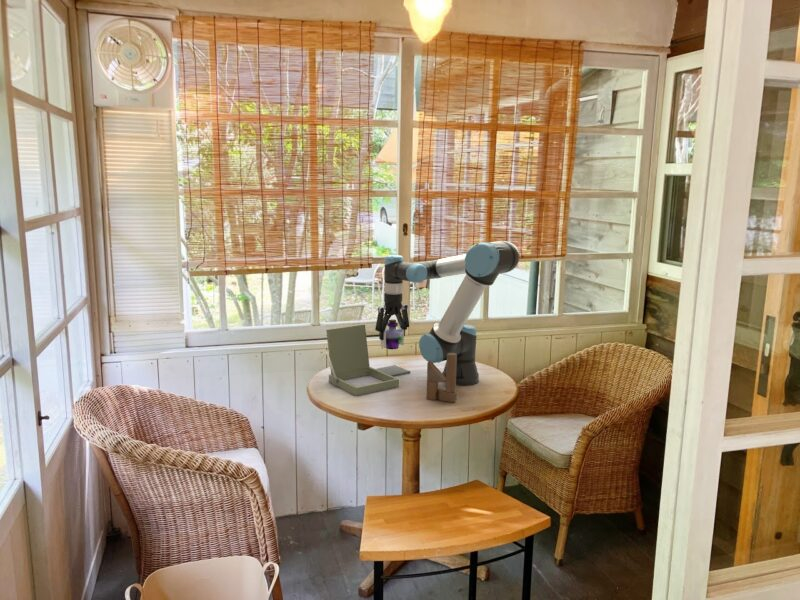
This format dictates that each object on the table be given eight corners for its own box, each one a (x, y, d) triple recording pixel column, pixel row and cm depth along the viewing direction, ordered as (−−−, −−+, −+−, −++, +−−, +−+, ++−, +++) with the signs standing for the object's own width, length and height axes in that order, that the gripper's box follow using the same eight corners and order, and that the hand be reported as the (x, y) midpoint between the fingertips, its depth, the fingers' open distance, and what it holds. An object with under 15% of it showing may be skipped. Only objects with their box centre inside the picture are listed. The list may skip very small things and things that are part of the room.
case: (398, 386, 246) (399, 335, 242) (354, 396, 234) (354, 342, 230) (365, 371, 265) (365, 323, 261) (322, 380, 252) (322, 330, 249)
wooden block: (428, 396, 235) (430, 349, 232) (456, 400, 232) (458, 352, 229) (426, 399, 232) (427, 352, 229) (454, 403, 229) (455, 355, 225)
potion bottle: (401, 350, 258) (401, 322, 256) (380, 349, 259) (381, 321, 257) (403, 345, 267) (403, 318, 265) (383, 344, 268) (383, 317, 265)
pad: (410, 373, 264) (410, 371, 264) (389, 377, 257) (389, 375, 257) (394, 366, 272) (394, 365, 272) (373, 370, 266) (373, 369, 266)
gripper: (408, 289, 268) (407, 340, 272) (366, 293, 255) (366, 347, 259) (419, 291, 262) (417, 344, 266) (377, 296, 249) (376, 351, 254)
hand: (392, 345), depth 263 cm, fingers closed on potion bottle, 9 cm apart
